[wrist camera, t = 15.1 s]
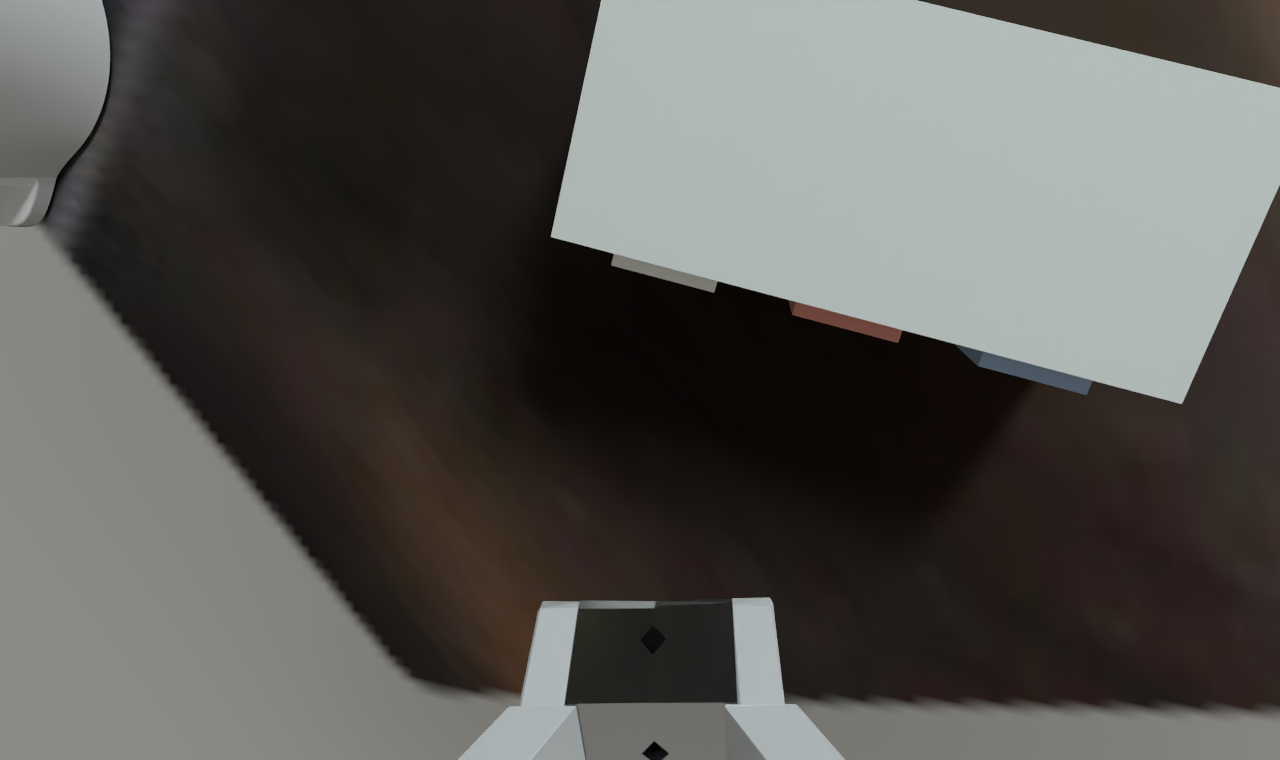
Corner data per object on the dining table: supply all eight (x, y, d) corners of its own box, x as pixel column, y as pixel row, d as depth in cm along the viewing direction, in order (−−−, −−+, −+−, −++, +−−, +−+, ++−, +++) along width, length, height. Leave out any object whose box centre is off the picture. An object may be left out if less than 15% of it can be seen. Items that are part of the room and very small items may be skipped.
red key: (788, 300, 35) (792, 314, 31) (809, 228, 34) (816, 235, 31) (883, 325, 35) (897, 343, 31) (907, 253, 34) (924, 264, 30)
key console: (603, 216, 40) (550, 236, 30) (655, -7, 37) (616, -72, 27) (1065, 338, 39) (1181, 403, 28) (1152, 115, 36) (1318, 97, 26)
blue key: (955, 345, 34) (978, 366, 31) (981, 274, 34) (1007, 287, 30) (1053, 372, 34) (1086, 394, 31) (1082, 300, 33) (1118, 316, 30)
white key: (624, 255, 35) (611, 265, 32) (641, 183, 34) (629, 185, 31) (717, 280, 35) (714, 292, 32) (737, 208, 34) (735, 213, 31)
